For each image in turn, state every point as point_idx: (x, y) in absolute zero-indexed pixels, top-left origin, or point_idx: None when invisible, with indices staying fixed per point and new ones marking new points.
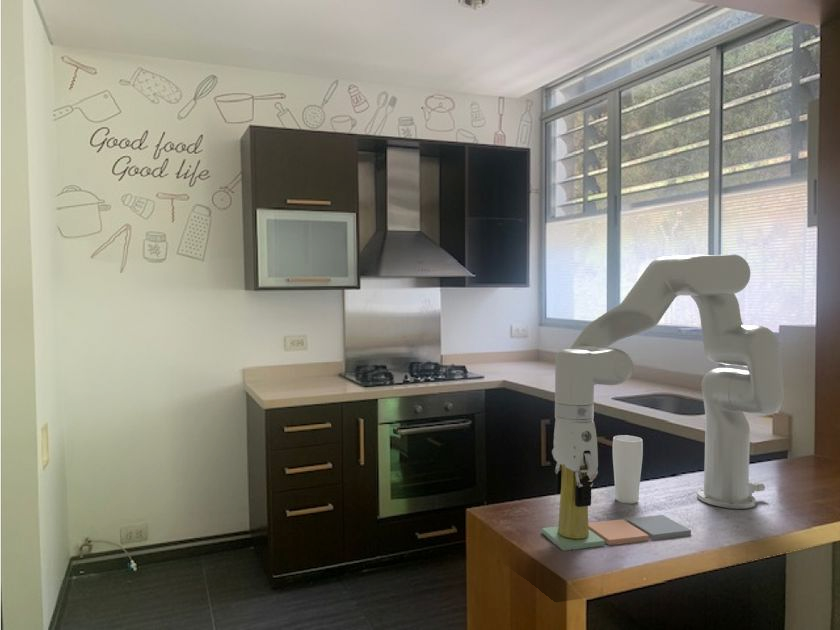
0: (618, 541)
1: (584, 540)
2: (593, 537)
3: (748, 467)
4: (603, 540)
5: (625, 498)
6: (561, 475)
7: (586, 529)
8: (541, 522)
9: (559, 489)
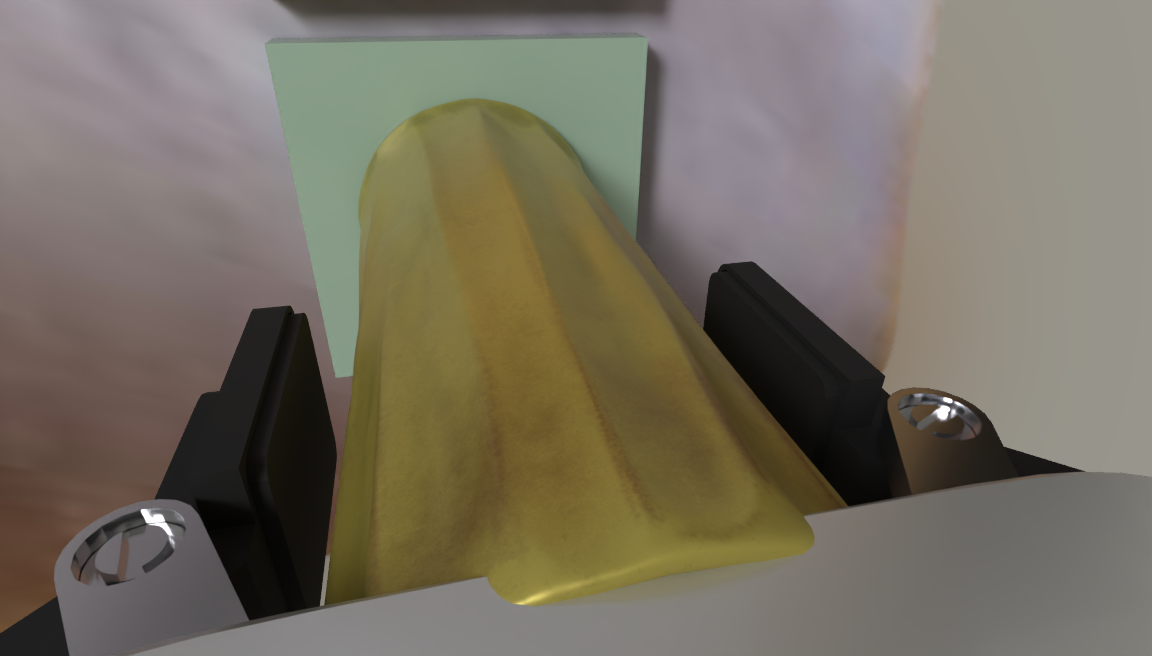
0: None
1: (603, 187)
2: (573, 94)
3: None
4: (645, 47)
5: None
6: (285, 599)
7: (582, 170)
8: (113, 300)
9: (329, 474)
